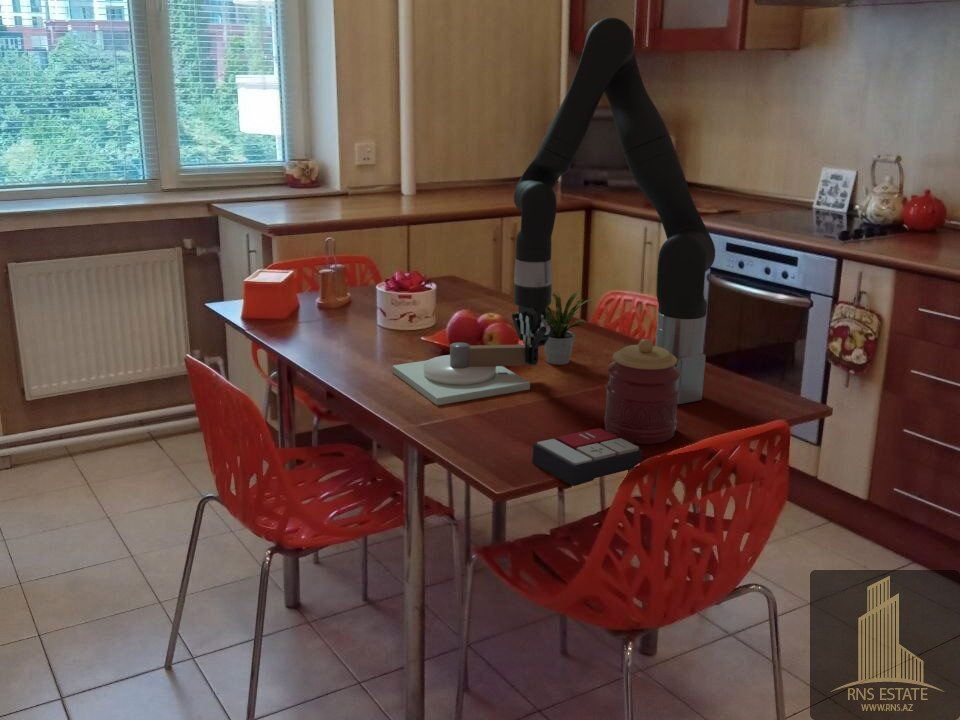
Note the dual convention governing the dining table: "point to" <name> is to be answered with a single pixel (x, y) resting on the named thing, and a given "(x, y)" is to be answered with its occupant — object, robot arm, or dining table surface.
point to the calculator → (585, 456)
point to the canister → (642, 394)
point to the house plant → (561, 331)
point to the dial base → (456, 393)
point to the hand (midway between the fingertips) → (531, 363)
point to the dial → (473, 363)
